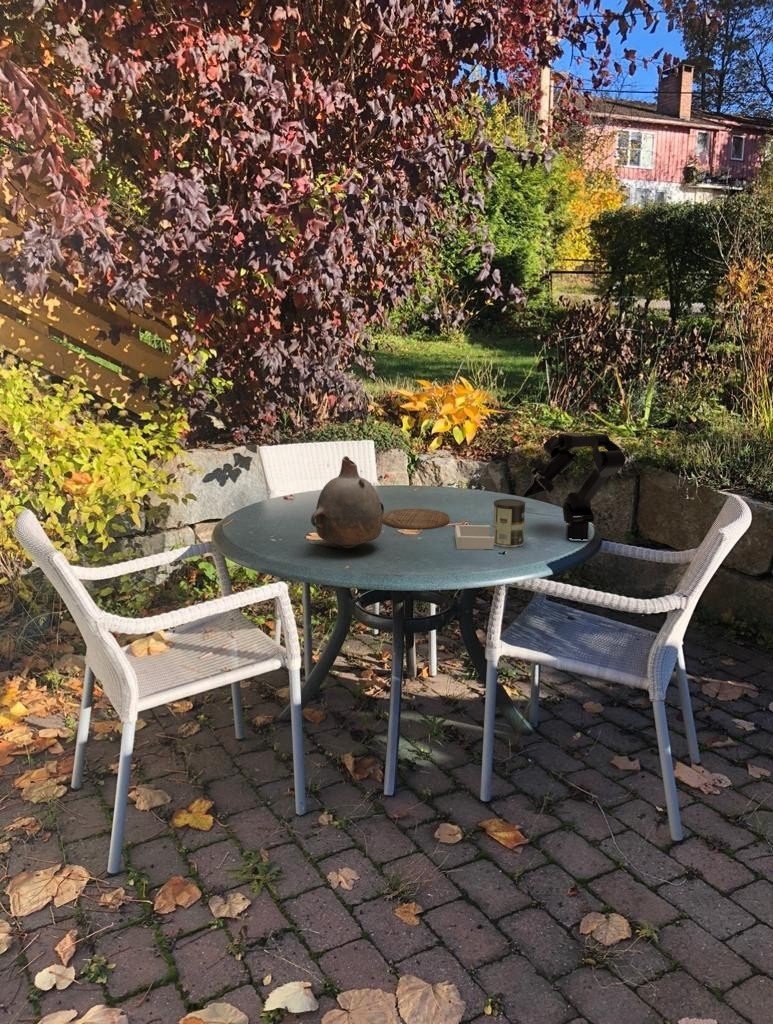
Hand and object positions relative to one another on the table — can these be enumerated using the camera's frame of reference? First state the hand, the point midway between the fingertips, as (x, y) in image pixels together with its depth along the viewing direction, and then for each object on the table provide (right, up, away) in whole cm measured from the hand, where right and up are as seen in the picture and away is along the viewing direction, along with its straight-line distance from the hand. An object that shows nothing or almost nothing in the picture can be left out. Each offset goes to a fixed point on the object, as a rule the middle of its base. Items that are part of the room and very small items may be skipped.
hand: (524, 495), depth 277 cm
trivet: (-37, -9, +16) cm, 42 cm away
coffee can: (-8, -16, -13) cm, 22 cm away
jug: (-60, -18, -19) cm, 65 cm away
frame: (-19, -16, -12) cm, 28 cm away
